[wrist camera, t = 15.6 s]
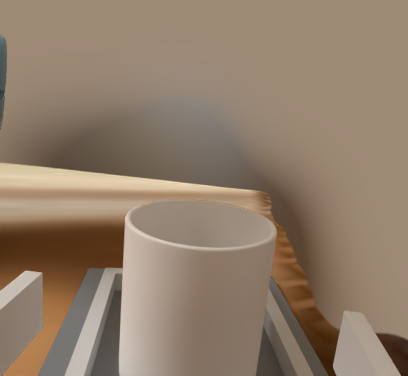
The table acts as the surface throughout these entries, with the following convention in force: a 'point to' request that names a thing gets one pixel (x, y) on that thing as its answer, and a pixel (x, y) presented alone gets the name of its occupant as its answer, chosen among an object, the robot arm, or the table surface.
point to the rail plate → (110, 334)
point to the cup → (194, 288)
